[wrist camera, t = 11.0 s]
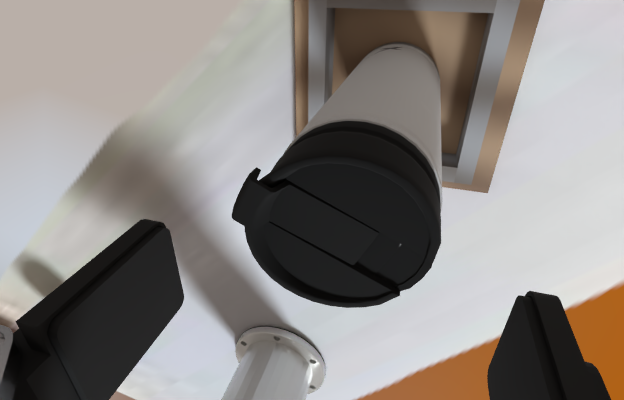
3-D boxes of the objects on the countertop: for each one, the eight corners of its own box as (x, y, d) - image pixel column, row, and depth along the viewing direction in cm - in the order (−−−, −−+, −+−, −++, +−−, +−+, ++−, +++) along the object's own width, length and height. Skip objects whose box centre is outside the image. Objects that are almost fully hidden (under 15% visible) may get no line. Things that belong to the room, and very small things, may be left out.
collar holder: (486, 186, 31) (491, 209, 28) (300, 161, 35) (287, 179, 31) (553, -47, 22) (571, -50, 19) (299, -47, 26) (280, -49, 23)
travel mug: (377, 21, 26) (272, 108, 9) (459, 70, 26) (495, 241, 10) (335, 98, 29) (206, 259, 13) (407, 141, 30) (368, 354, 13)
